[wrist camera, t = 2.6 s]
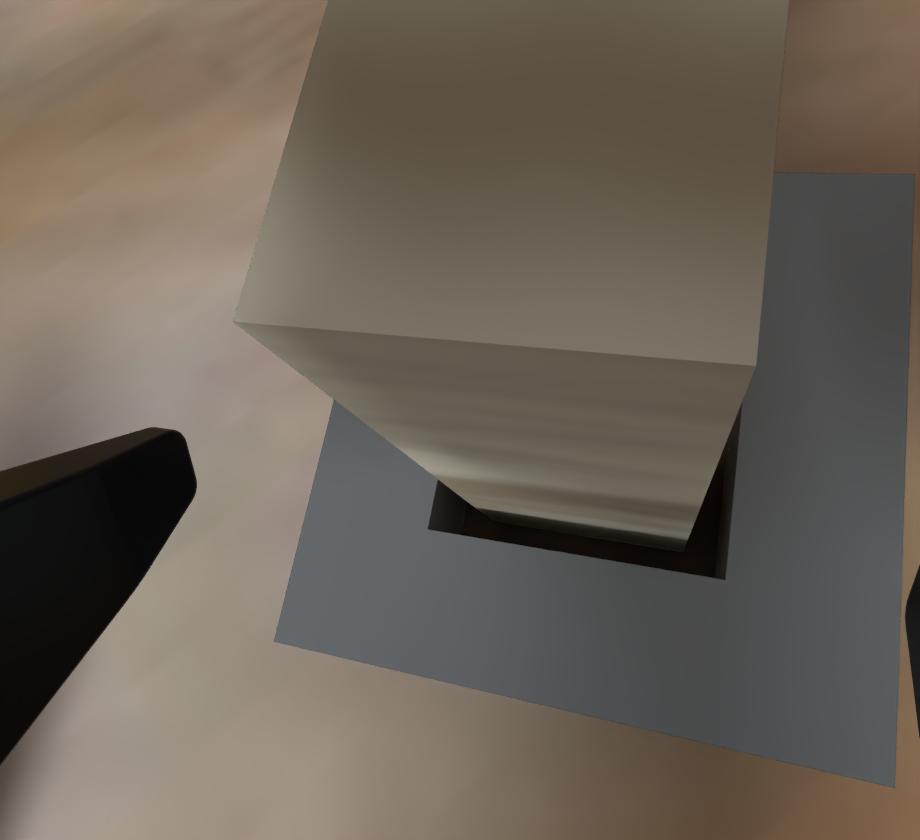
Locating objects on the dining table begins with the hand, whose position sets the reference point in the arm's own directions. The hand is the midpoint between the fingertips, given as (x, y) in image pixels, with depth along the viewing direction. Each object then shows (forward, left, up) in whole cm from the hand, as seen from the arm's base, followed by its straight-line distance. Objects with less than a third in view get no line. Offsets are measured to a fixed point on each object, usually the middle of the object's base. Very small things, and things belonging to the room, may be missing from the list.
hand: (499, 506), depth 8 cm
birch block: (+3, -1, -10) cm, 11 cm away
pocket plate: (+3, -1, -10) cm, 11 cm away
